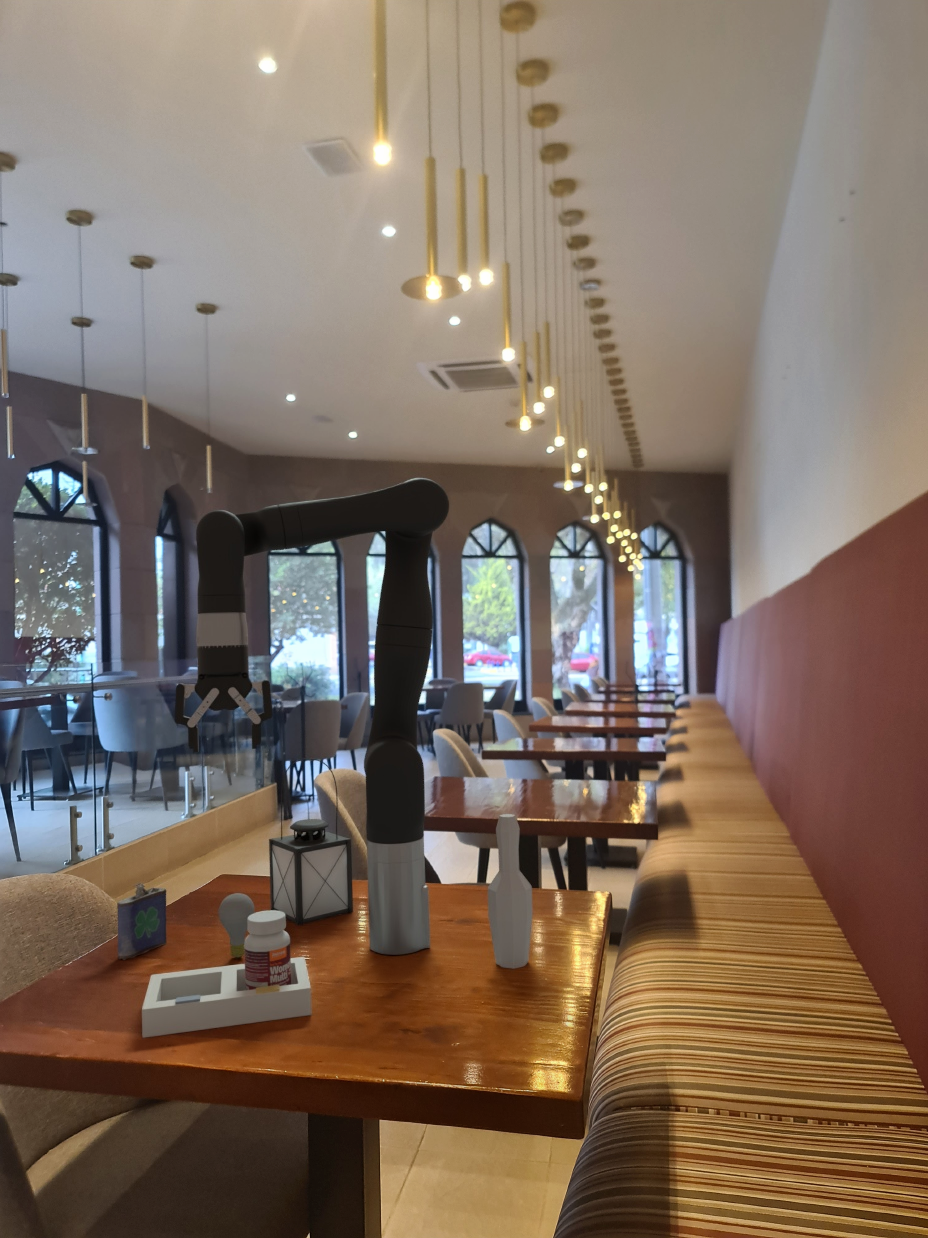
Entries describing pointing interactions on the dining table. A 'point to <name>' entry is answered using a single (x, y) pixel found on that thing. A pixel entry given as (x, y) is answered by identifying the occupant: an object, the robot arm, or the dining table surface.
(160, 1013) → the socket block
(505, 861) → the faceted bottle
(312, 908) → the lantern
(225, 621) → the robot arm
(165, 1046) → the dining table surface
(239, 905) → the light bulb
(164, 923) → the flask
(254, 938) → the pill bottle
